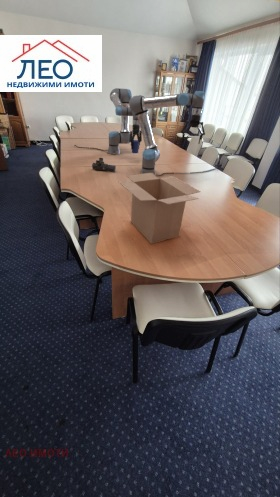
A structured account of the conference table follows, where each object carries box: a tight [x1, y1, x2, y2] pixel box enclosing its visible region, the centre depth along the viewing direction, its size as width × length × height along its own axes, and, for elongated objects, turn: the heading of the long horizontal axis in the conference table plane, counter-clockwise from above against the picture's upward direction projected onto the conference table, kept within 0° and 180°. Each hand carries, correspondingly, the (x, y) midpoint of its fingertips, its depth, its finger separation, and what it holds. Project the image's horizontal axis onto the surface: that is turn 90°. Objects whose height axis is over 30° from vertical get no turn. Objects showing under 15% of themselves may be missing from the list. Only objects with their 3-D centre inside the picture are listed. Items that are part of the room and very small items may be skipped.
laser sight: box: [91, 157, 117, 173], centre depth 211 cm, size 10×22×10 cm, turn 78°
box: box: [117, 173, 201, 245], centre depth 124 cm, size 44×36×27 cm
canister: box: [131, 139, 140, 154], centre depth 232 cm, size 7×7×12 cm
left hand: (135, 148), depth 233 cm, fingers closed on canister, 7 cm apart
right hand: (190, 142), depth 191 cm, fingers open, 13 cm apart
